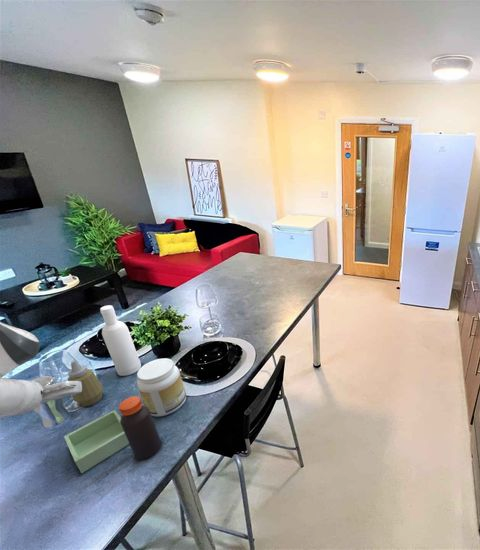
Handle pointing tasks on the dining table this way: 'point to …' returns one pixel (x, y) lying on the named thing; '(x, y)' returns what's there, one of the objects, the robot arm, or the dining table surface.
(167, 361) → the supplement tub
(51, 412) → the beer glass
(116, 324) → the bottle
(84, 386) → the squeeze bottle
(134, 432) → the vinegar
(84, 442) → the tote
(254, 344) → the dining table surface
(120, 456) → the dining table surface
